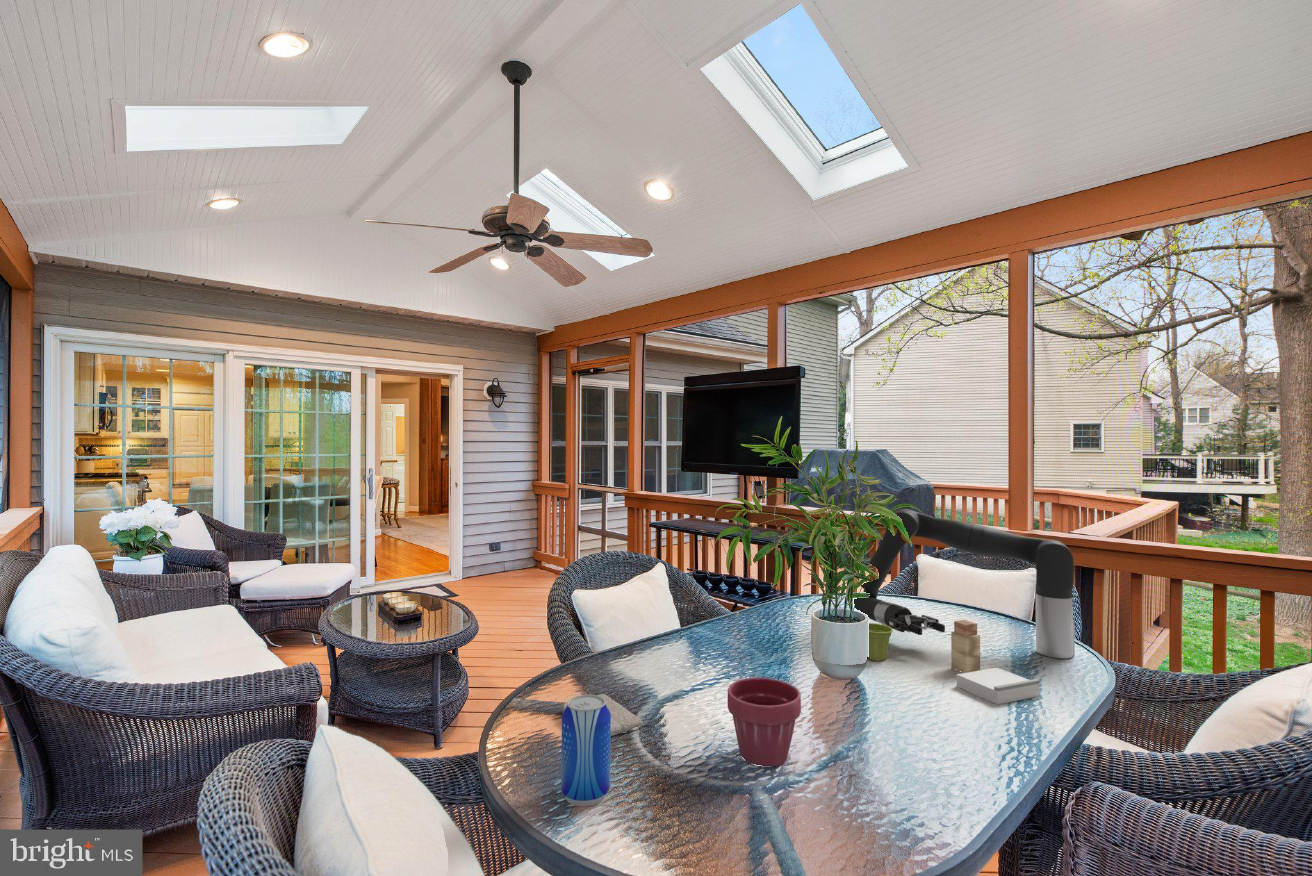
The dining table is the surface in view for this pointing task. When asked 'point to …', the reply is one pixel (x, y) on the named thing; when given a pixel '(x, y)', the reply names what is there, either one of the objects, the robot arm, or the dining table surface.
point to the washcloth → (618, 716)
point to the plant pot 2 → (878, 641)
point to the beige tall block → (965, 647)
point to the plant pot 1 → (764, 718)
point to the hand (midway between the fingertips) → (932, 630)
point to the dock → (998, 685)
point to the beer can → (585, 750)
